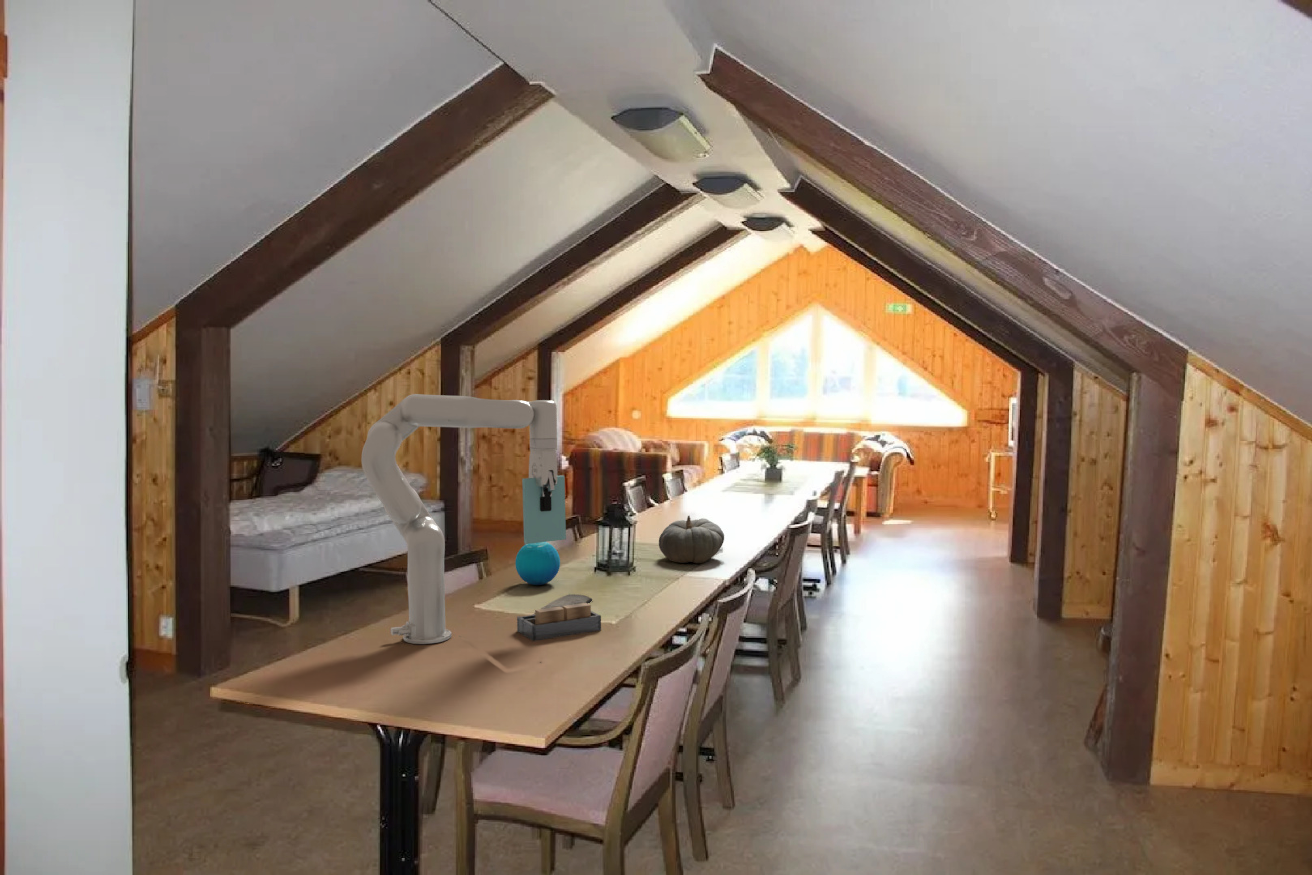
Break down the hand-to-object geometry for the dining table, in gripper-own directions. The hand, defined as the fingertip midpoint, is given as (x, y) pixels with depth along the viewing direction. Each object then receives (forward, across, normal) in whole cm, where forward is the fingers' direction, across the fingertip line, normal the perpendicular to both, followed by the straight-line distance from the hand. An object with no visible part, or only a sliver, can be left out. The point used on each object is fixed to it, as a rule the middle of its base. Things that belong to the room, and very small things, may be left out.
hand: (544, 510), depth 262 cm
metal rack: (+33, +9, 0) cm, 34 cm away
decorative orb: (+33, -50, +19) cm, 63 cm away
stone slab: (+34, -13, +11) cm, 38 cm away
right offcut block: (+32, +12, +4) cm, 34 cm away
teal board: (+9, 0, 0) cm, 9 cm away
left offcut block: (+32, +12, -4) cm, 34 cm away
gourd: (+33, -58, +85) cm, 108 cm away
